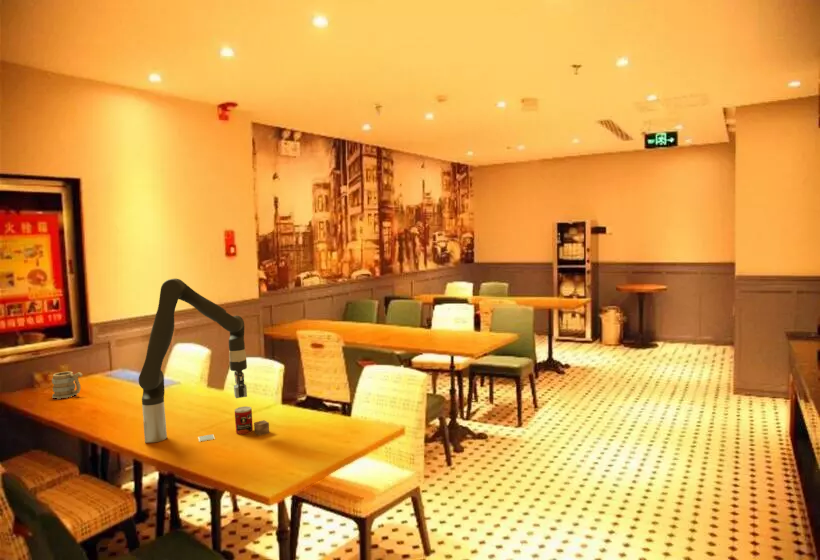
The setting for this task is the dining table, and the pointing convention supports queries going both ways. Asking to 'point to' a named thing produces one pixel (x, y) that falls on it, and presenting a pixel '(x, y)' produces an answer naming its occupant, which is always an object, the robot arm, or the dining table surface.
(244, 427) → the canned food
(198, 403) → the dining table surface
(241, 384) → the light grey cube
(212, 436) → the swatch
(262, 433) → the walnut block
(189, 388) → the dining table surface
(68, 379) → the tankard
